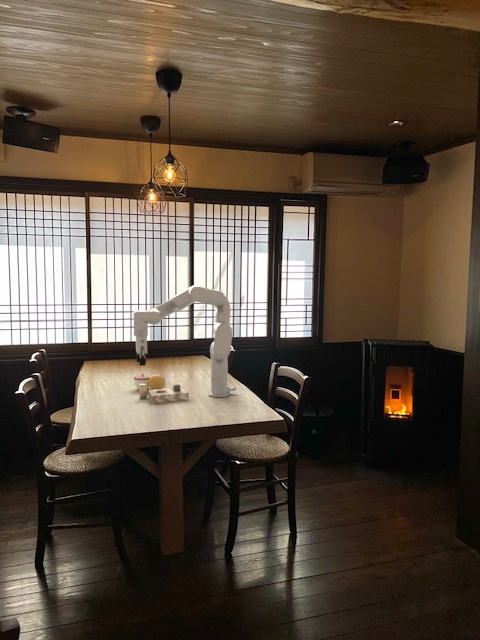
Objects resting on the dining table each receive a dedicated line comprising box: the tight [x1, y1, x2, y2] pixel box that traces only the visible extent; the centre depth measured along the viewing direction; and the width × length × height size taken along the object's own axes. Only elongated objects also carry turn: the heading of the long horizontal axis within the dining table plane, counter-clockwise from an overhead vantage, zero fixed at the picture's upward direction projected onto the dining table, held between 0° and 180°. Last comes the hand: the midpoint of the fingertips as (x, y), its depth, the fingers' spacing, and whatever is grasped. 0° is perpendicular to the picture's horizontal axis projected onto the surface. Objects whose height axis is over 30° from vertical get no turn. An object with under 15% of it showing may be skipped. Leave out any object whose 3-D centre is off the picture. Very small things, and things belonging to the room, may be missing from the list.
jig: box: [147, 383, 190, 404], centre depth 262 cm, size 20×13×7 cm, turn 110°
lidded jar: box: [133, 372, 152, 391], centre depth 283 cm, size 11×11×9 cm
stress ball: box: [148, 373, 166, 390], centre depth 278 cm, size 10×10×10 cm
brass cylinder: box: [139, 383, 148, 400], centre depth 263 cm, size 4×4×8 cm
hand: (141, 363), depth 260 cm, fingers open, 9 cm apart
